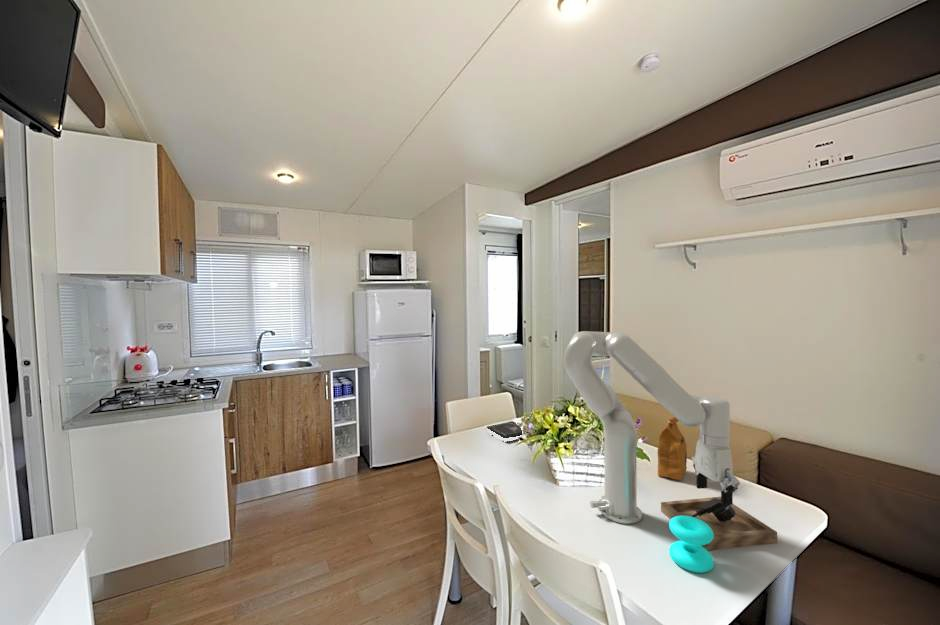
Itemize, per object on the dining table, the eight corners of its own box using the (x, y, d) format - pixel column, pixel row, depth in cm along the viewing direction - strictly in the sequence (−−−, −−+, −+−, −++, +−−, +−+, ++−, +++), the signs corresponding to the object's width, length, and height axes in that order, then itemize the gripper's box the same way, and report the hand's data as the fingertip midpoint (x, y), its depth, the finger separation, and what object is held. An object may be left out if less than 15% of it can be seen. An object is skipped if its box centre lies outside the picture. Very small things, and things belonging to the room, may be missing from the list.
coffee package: (691, 472, 149) (691, 417, 148) (682, 484, 140) (681, 425, 139) (664, 465, 156) (663, 412, 155) (653, 476, 147) (653, 419, 146)
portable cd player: (532, 437, 192) (532, 429, 192) (505, 444, 184) (504, 435, 184) (513, 428, 207) (513, 421, 207) (487, 434, 198) (486, 426, 198)
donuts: (713, 519, 100) (714, 540, 91) (713, 557, 100) (714, 580, 92) (670, 509, 105) (667, 528, 97) (670, 544, 105) (667, 566, 97)
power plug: (684, 511, 118) (719, 491, 116) (700, 531, 118) (735, 512, 116) (691, 521, 113) (728, 500, 111) (708, 543, 112) (745, 523, 110)
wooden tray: (706, 550, 103) (706, 539, 102) (661, 511, 122) (660, 502, 122) (777, 542, 105) (777, 531, 105) (721, 505, 125) (721, 496, 125)
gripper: (682, 430, 121) (682, 483, 122) (726, 451, 104) (725, 512, 104) (704, 429, 122) (703, 481, 123) (750, 449, 105) (749, 510, 105)
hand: (713, 495), depth 114 cm, fingers open, 9 cm apart
